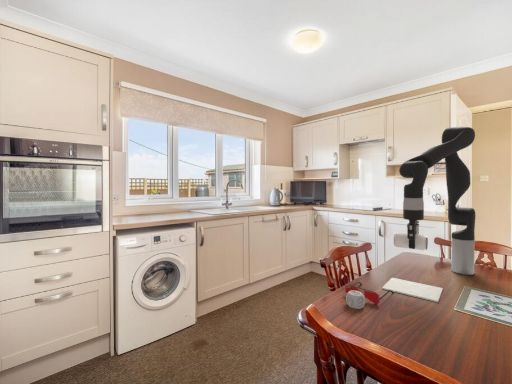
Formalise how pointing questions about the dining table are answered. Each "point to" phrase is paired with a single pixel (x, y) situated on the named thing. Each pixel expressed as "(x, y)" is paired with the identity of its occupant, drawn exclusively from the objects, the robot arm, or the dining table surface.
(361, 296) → the die
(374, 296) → the glasses
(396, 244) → the can
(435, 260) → the dining table surface
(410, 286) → the mat
